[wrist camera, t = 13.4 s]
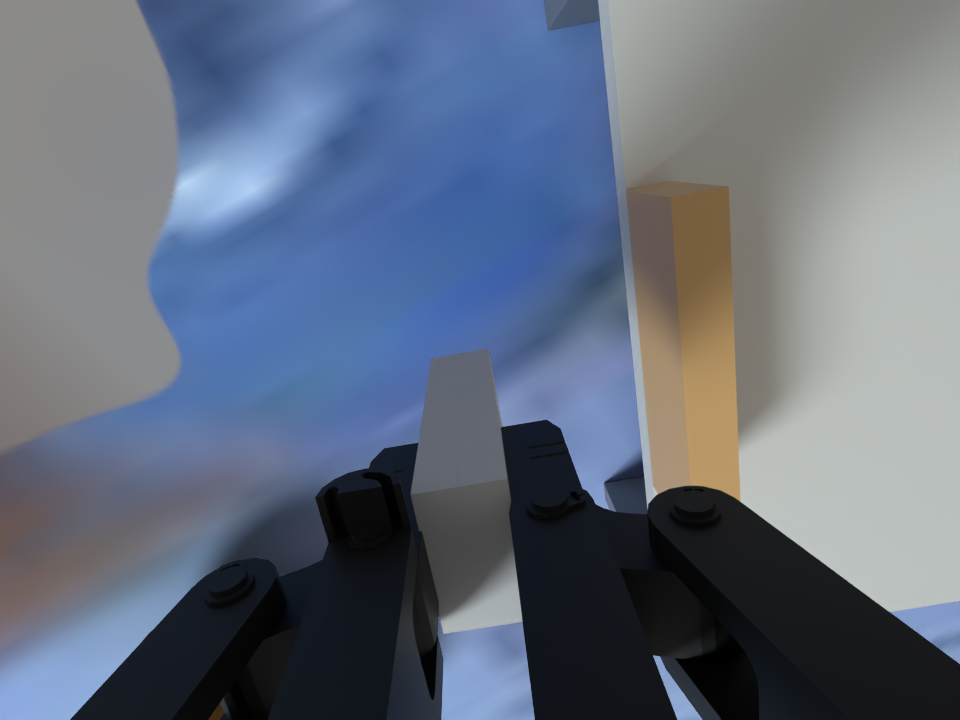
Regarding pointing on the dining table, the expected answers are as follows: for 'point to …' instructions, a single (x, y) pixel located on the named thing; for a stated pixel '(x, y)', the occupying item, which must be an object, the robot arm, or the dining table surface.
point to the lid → (798, 269)
